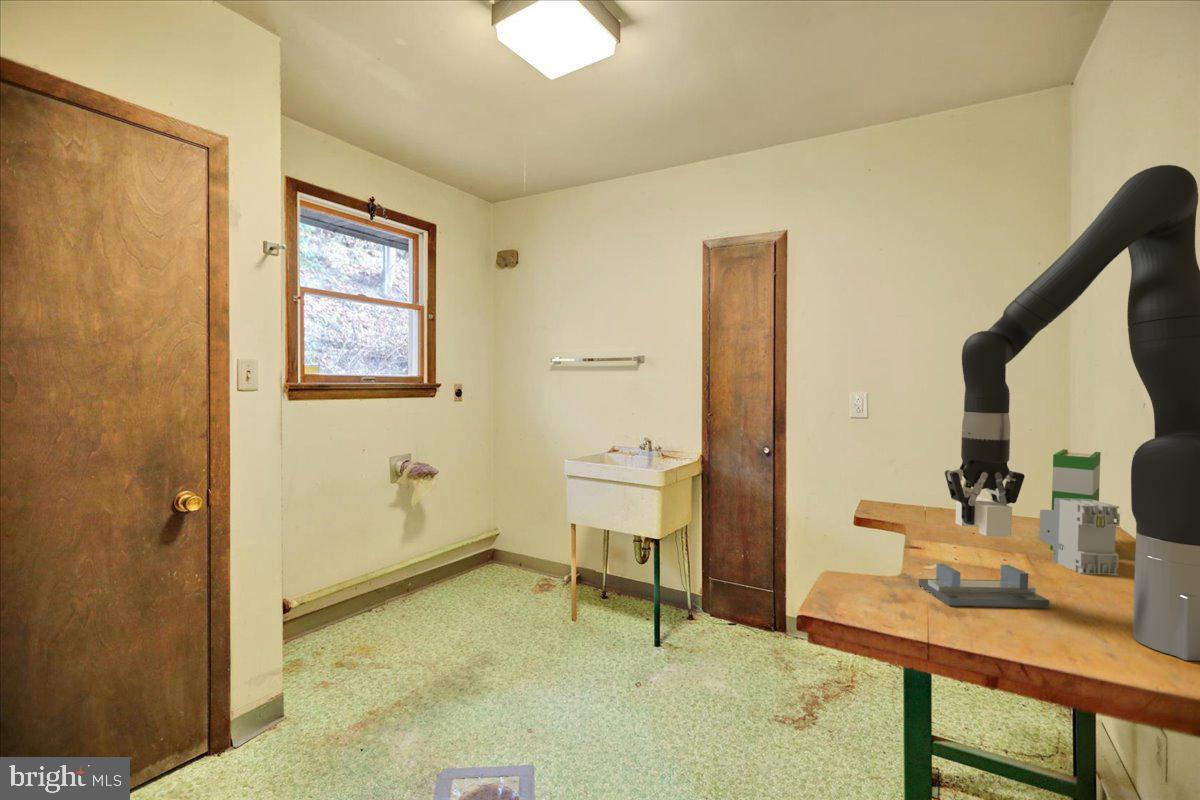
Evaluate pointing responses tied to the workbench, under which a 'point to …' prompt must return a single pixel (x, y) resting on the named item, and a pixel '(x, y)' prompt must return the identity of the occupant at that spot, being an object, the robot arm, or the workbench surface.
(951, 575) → the rail mount
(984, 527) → the block
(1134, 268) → the robot arm
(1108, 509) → the circuit breaker
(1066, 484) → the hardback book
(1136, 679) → the workbench surface
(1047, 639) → the workbench surface
